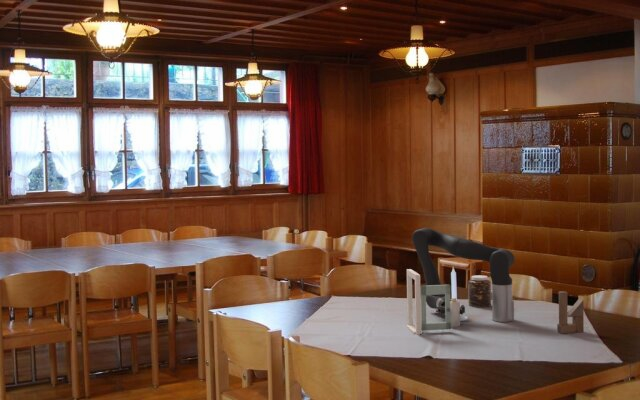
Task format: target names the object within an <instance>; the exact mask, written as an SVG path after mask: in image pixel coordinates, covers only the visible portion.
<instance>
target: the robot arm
mask: <svg viewBox="0 0 640 400" xmlns="http://www.w3.org/2000/svg"><path fill="white" fill-rule="evenodd" d="M411 238H412V239H411V240H412V244H413V246H414V249H415V251H416V254H417V256H418V259H419V262H420V264H421V268H422V271H423V275H424V281H425V284H426V285H425V286H428V285H442V284H441V283H442V282H441V280H440V275H439V271H438V268H437V266H436V265H435V263H434V261H433V259H432V257H431V255H430V250H429V246H430V247H431V246H432V247H437V248H440V249H443V250H444V251H446V252H448V253H449V254H451V255H452V256H455V257H459V258H461V259H465V260H473V261H484V262H487V263H489V273H490V279H491V308H492V315H491V317H492V321H494V322H500V323H506V322H512V321H513V322H514V321H515V301H514V299H513V278H512V277H511V276H510V269H509V268H511V267H512V266H513V265H514V264H515V260H516V259H515V254H514V253H513V252H512V251H510V250H509V249H506V248H499V247H493V246H488V245H485V244H482V243H480V242H477V241H474V240H470V239H466V238H463V237H458V236H455V235H449V234H445V233H443V232H440V231H437V230H435V229H432V228H430V227H422V228H420V229H416V230H415V231H414V232H413V233H412V237H411ZM451 300H452V298H450V301H451ZM426 306H428V307H429V308H430V309H433V310H434V309H435V313H438V314H441V315H445V294H438V295H426ZM465 313H466V307H465V304H460V316H461V315H463V314H465Z"/></svg>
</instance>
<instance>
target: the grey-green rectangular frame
mask: <svg viewBox="0 0 640 400" xmlns="http://www.w3.org/2000/svg"><path fill="white" fill-rule="evenodd" d="M420 292H421V331H422V332H423V331H440V330H442V331H444V330H451V315H450V299H451V284H441V285H428V286H427V285H420ZM438 294H445V314H444V316H445V321H441V322H440V321H439V322H427V303H426V297H427V295H438Z"/></svg>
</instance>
